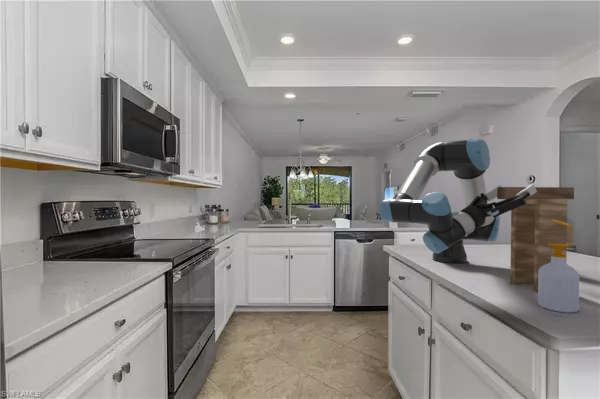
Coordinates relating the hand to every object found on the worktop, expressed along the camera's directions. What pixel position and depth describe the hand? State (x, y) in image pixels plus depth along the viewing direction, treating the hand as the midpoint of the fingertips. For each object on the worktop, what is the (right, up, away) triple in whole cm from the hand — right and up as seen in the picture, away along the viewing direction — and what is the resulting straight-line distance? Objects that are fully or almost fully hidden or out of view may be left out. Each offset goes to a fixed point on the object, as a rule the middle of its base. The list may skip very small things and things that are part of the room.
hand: (517, 188), depth 114 cm
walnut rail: (+7, -4, +1) cm, 8 cm away
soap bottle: (-1, -34, -19) cm, 39 cm away
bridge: (+8, -34, +2) cm, 35 cm away
